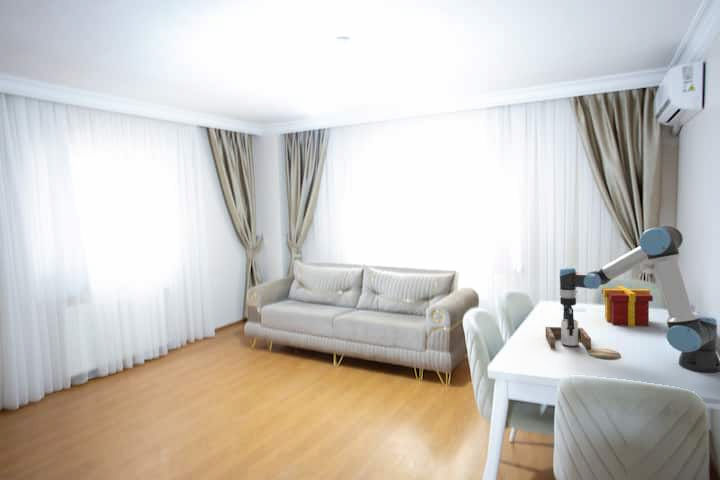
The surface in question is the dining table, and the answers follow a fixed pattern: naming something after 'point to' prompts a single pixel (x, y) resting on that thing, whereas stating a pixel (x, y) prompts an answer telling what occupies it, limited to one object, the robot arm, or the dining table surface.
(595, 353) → the coaster
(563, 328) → the mug
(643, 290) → the gift box
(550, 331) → the cradle
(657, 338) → the dining table surface
